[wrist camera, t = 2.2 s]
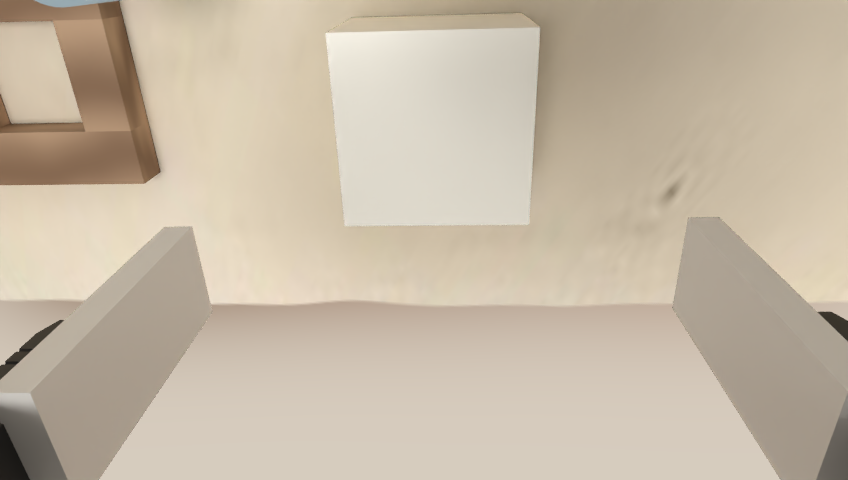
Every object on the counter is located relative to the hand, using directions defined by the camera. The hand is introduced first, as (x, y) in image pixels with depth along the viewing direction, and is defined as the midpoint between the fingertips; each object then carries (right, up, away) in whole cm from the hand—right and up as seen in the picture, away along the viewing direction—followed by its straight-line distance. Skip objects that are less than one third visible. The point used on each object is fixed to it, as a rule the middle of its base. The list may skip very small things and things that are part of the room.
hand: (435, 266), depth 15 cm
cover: (0, +9, +17) cm, 19 cm away
